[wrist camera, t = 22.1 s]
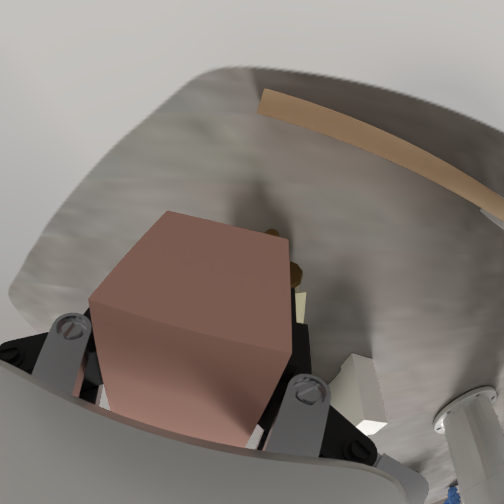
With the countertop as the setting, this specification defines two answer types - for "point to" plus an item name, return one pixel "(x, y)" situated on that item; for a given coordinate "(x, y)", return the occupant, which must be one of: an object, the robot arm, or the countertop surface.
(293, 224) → the countertop surface
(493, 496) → the robot arm
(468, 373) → the countertop surface
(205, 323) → the block
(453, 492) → the grapes
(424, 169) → the door
